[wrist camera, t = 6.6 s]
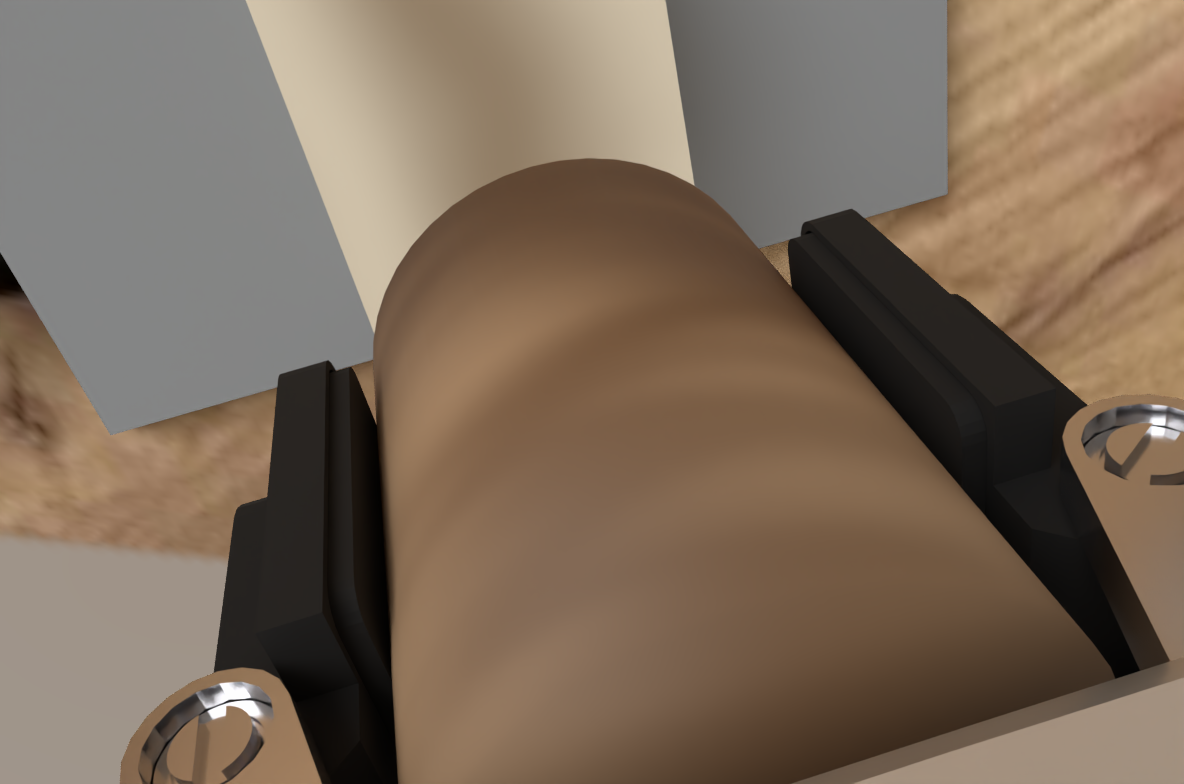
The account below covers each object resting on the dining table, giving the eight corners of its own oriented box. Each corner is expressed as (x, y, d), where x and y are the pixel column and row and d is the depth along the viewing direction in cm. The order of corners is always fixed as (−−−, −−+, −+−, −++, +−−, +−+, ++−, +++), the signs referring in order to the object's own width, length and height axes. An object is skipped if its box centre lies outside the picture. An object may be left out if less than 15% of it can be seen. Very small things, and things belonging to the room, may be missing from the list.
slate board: (925, -371, 20) (947, -374, 19) (932, 183, 27) (949, 195, 26) (-184, -91, 19) (-206, -84, 18) (116, 417, 26) (109, 437, 25)
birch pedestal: (598, -134, 20) (648, -111, 17) (655, 183, 24) (704, 252, 21) (259, -46, 20) (244, -4, 17) (373, 263, 24) (379, 345, 21)
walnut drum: (745, 106, 11) (1165, 475, 6) (787, 450, 14) (1096, 931, 8) (310, 229, 11) (283, 749, 5) (440, 554, 14) (515, 1130, 8)
